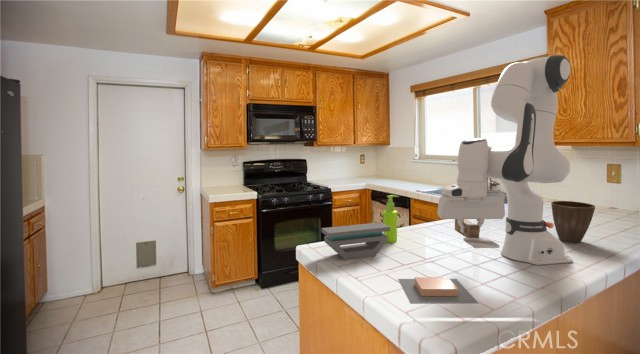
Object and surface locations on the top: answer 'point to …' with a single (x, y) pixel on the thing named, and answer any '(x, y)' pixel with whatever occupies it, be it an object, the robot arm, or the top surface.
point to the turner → (474, 236)
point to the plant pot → (572, 219)
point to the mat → (416, 297)
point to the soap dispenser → (390, 220)
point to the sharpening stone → (356, 239)
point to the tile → (435, 286)
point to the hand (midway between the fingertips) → (469, 232)
